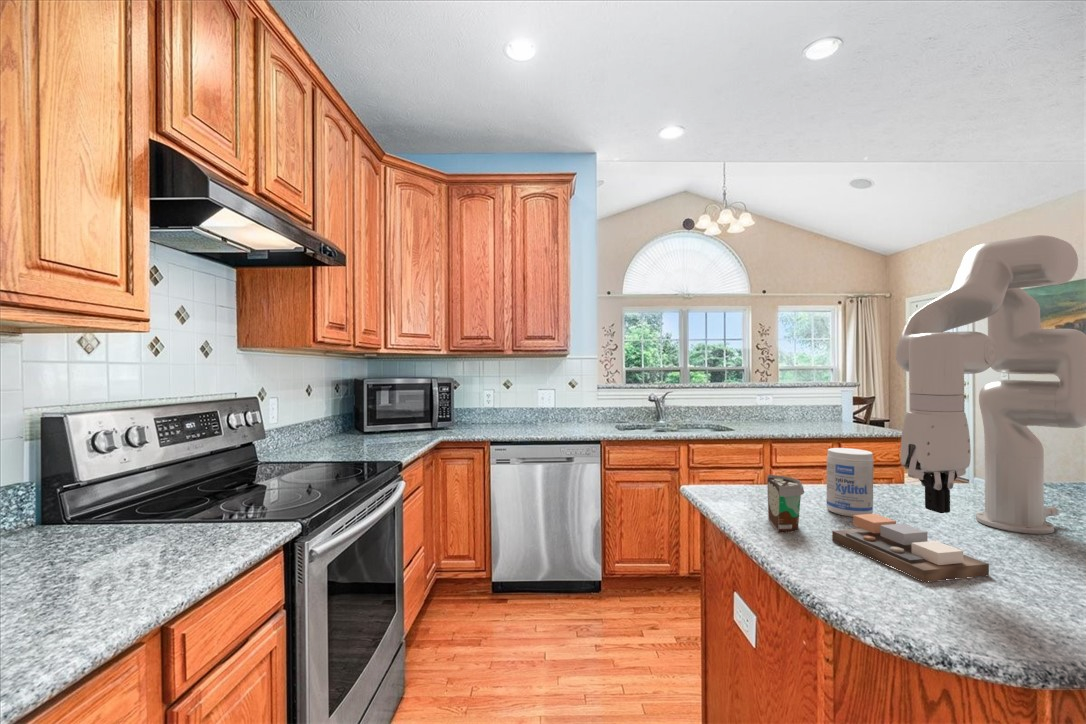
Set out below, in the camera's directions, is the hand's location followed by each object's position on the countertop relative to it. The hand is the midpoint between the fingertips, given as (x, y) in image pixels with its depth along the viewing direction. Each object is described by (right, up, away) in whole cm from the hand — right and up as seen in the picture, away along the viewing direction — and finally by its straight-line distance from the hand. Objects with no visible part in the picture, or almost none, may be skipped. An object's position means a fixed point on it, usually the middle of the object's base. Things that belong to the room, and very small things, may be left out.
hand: (937, 510), depth 89 cm
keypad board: (-1, -10, +6) cm, 12 cm away
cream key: (0, -8, 0) cm, 8 cm away
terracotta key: (-3, -7, +13) cm, 15 cm away
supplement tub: (+5, -11, +34) cm, 36 cm away
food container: (-14, -11, +24) cm, 30 cm away
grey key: (-1, -7, +6) cm, 10 cm away
